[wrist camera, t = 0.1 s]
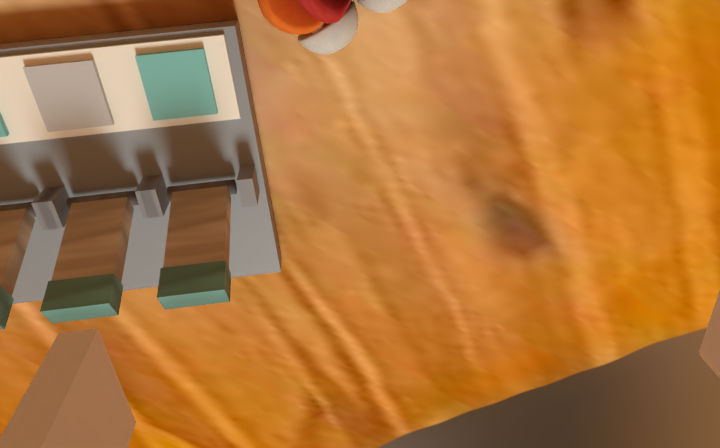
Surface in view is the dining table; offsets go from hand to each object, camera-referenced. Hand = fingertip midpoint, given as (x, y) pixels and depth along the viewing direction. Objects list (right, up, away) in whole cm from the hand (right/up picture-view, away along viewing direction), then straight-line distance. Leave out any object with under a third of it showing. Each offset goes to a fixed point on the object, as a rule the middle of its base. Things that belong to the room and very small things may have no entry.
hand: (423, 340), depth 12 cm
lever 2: (-18, +4, +25) cm, 31 cm away
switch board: (-19, +6, +27) cm, 33 cm away
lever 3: (-12, +5, +25) cm, 28 cm away
